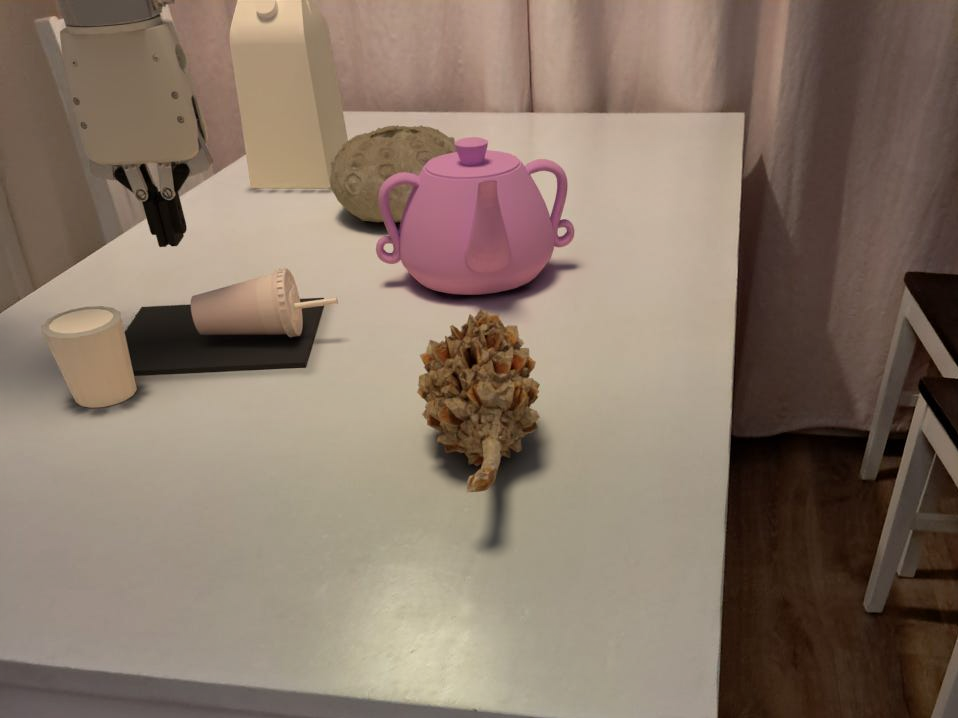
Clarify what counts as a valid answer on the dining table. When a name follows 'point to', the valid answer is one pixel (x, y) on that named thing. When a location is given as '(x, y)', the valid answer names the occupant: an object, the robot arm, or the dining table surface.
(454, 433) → the pine cone
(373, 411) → the dining table surface
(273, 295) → the smoothie
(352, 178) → the decorative shell
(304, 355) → the mat
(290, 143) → the milk
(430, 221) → the teapot
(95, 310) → the cream candle
